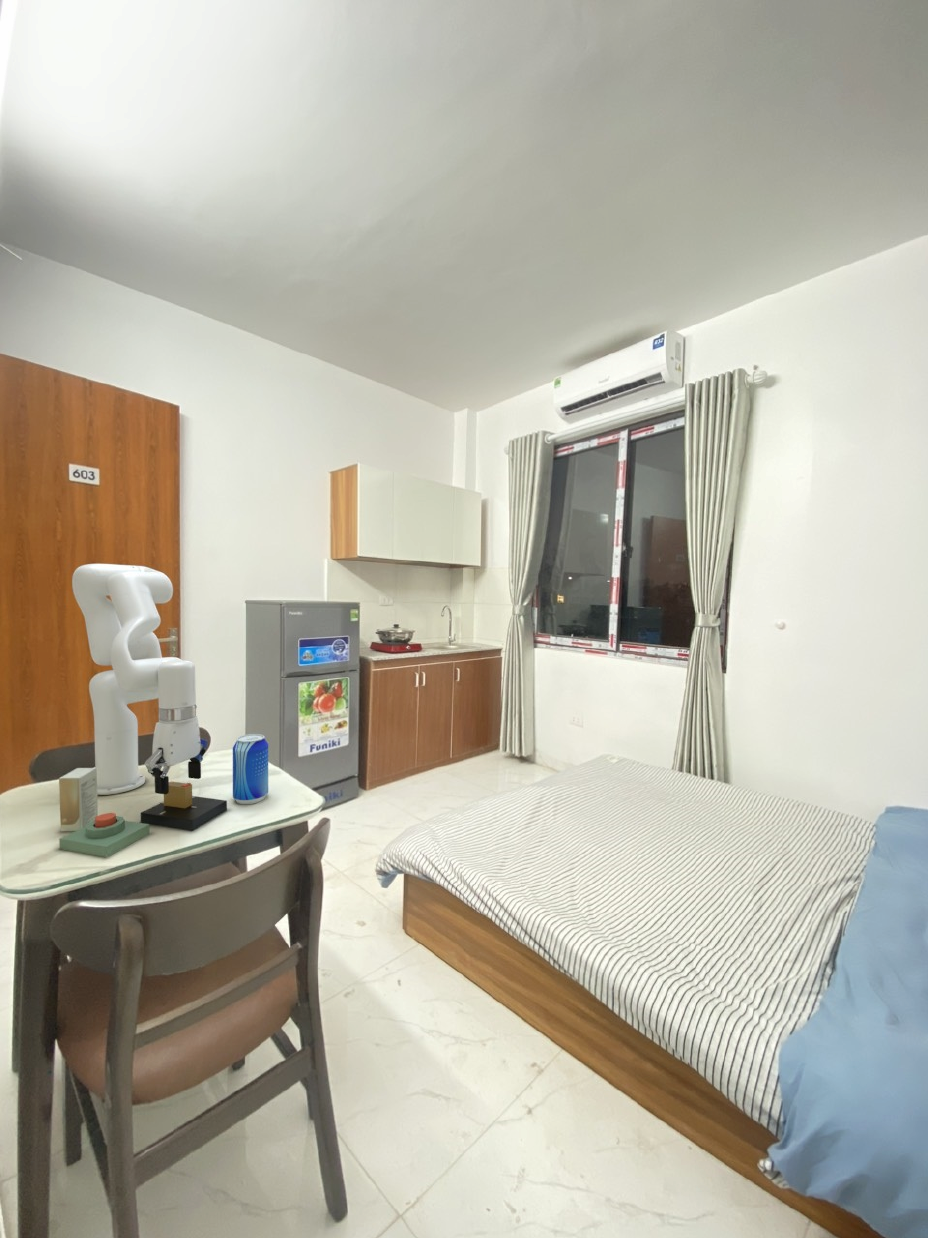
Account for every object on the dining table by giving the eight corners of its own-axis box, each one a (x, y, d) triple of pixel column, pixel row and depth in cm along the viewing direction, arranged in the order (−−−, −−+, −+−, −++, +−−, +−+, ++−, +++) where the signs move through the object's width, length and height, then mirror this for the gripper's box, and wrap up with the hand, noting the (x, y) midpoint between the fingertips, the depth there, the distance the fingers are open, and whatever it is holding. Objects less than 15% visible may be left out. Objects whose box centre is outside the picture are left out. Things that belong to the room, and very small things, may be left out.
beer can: (255, 807, 122) (255, 743, 122) (225, 803, 124) (225, 740, 123) (274, 794, 131) (274, 734, 130) (246, 790, 132) (246, 731, 131)
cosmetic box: (79, 819, 114) (78, 767, 114) (99, 818, 115) (98, 767, 114) (58, 832, 108) (57, 777, 107) (79, 832, 108) (78, 777, 108)
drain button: (90, 827, 103) (90, 819, 103) (106, 819, 107) (106, 812, 106) (104, 829, 102) (104, 821, 102) (120, 822, 106) (120, 814, 106)
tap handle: (163, 805, 117) (163, 783, 116) (171, 801, 119) (171, 780, 118) (185, 808, 115) (184, 786, 115) (192, 804, 117) (192, 783, 117)
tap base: (140, 823, 113) (140, 812, 113) (178, 803, 124) (178, 793, 123) (192, 831, 110) (192, 819, 109) (227, 810, 120) (227, 799, 120)
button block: (59, 849, 101) (58, 830, 101) (105, 827, 111) (104, 809, 111) (106, 857, 98) (106, 838, 98) (149, 834, 108) (149, 816, 108)
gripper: (192, 705, 125) (193, 771, 126) (131, 721, 108) (133, 798, 109) (217, 706, 123) (218, 774, 124) (160, 723, 106) (161, 801, 107)
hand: (178, 785), depth 116 cm, fingers open, 9 cm apart
